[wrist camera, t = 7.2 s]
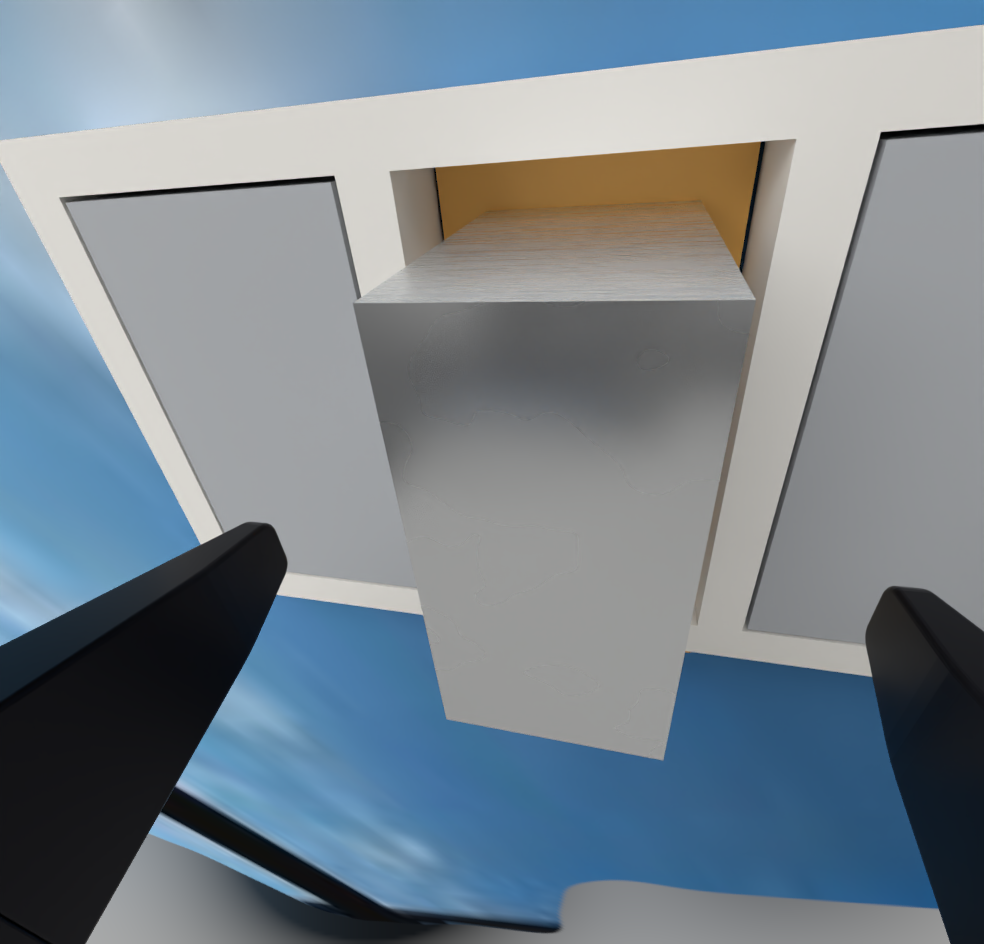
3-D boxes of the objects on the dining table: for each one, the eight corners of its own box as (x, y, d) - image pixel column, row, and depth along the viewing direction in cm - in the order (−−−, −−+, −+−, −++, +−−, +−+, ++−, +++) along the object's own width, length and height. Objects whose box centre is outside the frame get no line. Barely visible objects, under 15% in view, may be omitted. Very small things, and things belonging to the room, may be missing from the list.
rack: (1502, -26, 6) (1825, -75, 5) (1020, 633, 13) (1076, 713, 12) (87, 135, 12) (-11, 141, 10) (266, 547, 19) (227, 593, 17)
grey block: (701, 199, 9) (755, 299, 5) (657, 535, 14) (663, 760, 9) (486, 210, 10) (351, 302, 6) (510, 521, 15) (446, 719, 10)
